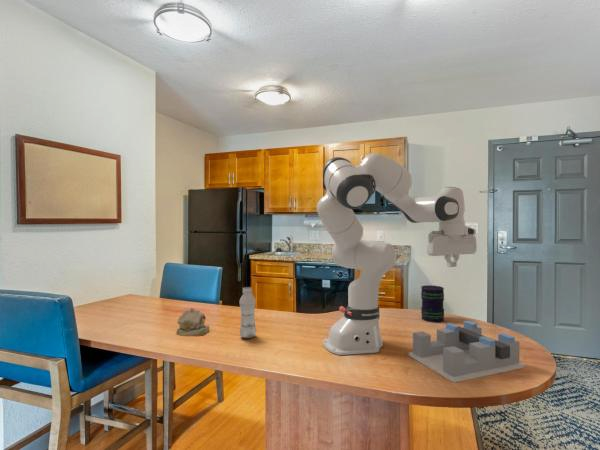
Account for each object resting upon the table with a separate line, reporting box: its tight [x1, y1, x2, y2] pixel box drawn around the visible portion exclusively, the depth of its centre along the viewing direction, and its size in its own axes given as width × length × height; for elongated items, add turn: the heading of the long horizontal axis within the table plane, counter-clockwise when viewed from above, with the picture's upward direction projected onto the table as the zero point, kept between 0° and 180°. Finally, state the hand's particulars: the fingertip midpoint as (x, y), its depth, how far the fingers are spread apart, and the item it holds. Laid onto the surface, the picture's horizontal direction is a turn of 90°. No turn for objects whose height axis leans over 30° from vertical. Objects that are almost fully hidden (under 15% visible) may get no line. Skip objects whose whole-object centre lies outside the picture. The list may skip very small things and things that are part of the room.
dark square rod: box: [458, 325, 510, 359], centre depth 108 cm, size 4×20×4 cm, turn 19°
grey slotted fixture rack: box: [408, 320, 526, 384], centre depth 106 cm, size 28×20×10 cm
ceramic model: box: [176, 307, 210, 337], centre depth 139 cm, size 14×11×10 cm
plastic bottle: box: [239, 286, 257, 339], centre depth 131 cm, size 6×7×20 cm
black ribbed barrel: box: [420, 284, 445, 324], centre depth 151 cm, size 10×10×15 cm
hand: (451, 266), depth 123 cm, fingers closed
